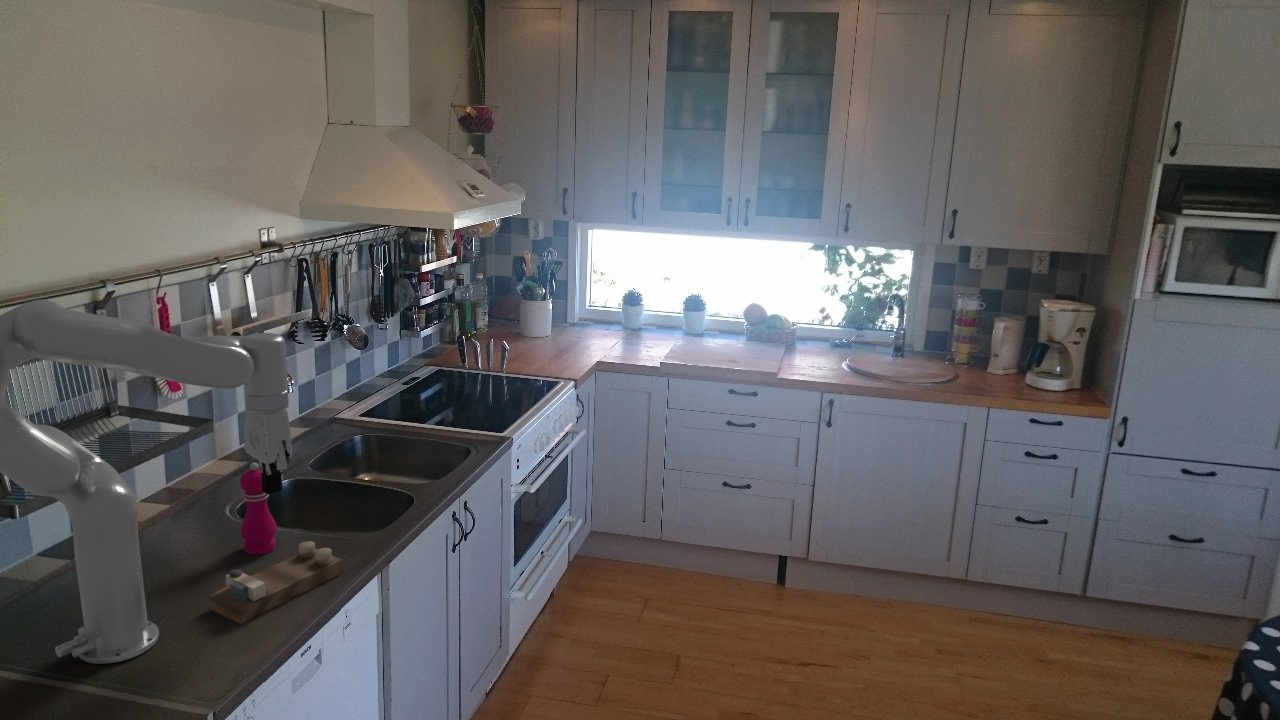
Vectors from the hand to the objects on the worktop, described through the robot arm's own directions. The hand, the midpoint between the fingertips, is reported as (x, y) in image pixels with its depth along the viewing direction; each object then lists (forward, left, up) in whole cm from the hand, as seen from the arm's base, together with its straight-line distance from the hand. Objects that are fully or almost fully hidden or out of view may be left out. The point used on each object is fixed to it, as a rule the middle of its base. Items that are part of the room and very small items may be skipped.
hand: (272, 491), depth 170 cm
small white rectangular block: (-6, +1, -19) cm, 20 cm away
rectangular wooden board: (+1, +2, -22) cm, 22 cm away
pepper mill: (+10, +20, -22) cm, 31 cm away
